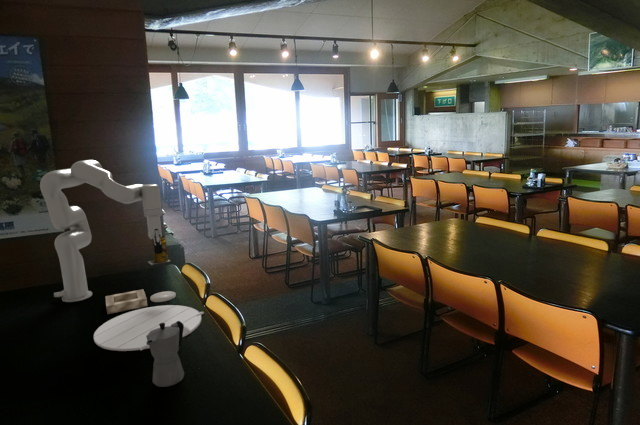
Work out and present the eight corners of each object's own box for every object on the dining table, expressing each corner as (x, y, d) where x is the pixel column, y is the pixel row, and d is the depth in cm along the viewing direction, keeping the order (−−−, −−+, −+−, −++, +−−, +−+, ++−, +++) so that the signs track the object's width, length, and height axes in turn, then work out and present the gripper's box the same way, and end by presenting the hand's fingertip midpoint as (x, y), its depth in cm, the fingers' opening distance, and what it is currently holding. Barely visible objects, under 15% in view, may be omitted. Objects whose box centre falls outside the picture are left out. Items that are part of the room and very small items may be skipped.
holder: (107, 314, 191) (106, 306, 190) (106, 303, 203) (105, 296, 202) (147, 306, 198) (146, 298, 197) (144, 296, 210) (143, 289, 209)
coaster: (152, 304, 200) (151, 301, 200) (149, 296, 209) (148, 294, 209) (177, 298, 204) (177, 296, 204) (173, 291, 214) (173, 289, 214)
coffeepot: (166, 393, 129) (159, 334, 126) (140, 388, 133) (133, 330, 130) (199, 366, 144) (193, 313, 140) (175, 362, 147) (169, 310, 144)
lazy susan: (223, 314, 185) (222, 306, 184) (151, 360, 150) (150, 350, 150) (150, 303, 202) (149, 296, 201) (70, 341, 167) (68, 333, 166)
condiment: (170, 261, 203) (167, 235, 201) (151, 265, 198) (147, 238, 197) (166, 258, 209) (163, 233, 207) (147, 262, 205) (144, 236, 203)
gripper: (142, 210, 206) (146, 249, 209) (146, 216, 190) (151, 257, 194) (159, 208, 209) (163, 246, 212) (164, 214, 194) (169, 254, 197)
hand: (157, 251), depth 203 cm, fingers closed on condiment, 6 cm apart
